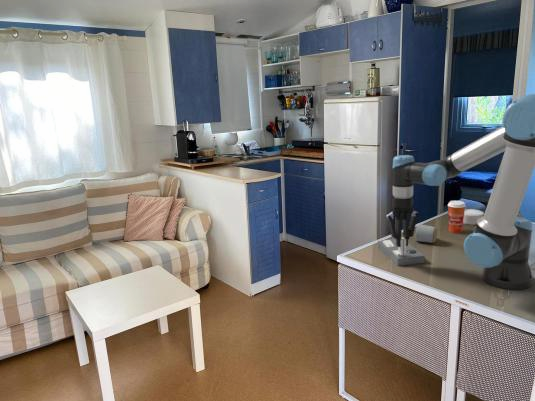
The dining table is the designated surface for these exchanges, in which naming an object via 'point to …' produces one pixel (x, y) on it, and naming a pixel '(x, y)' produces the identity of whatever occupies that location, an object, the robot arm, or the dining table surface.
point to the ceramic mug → (426, 233)
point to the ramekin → (472, 216)
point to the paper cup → (456, 216)
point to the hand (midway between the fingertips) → (401, 254)
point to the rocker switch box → (410, 258)
